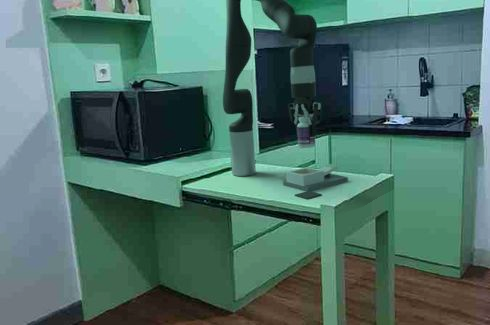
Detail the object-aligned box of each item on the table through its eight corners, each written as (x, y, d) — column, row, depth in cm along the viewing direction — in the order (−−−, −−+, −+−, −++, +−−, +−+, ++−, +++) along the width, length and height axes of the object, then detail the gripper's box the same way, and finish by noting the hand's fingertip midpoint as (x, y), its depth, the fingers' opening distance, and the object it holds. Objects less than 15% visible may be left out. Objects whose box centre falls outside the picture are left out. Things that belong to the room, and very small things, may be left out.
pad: (294, 195, 141) (294, 194, 141) (309, 191, 145) (309, 190, 144) (307, 199, 136) (307, 198, 136) (321, 195, 140) (321, 194, 139)
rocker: (313, 175, 157) (313, 171, 157) (330, 167, 161) (329, 163, 160) (321, 177, 154) (321, 173, 153) (338, 168, 157) (337, 164, 157)
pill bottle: (315, 147, 139) (313, 116, 137) (297, 148, 140) (295, 117, 138) (315, 145, 144) (314, 115, 142) (299, 146, 145) (297, 116, 143)
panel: (283, 185, 156) (282, 171, 155) (321, 175, 165) (321, 162, 164) (308, 191, 145) (307, 176, 144) (347, 181, 154) (347, 167, 153)
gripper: (279, 83, 142) (282, 136, 145) (309, 81, 130) (312, 139, 133) (297, 82, 146) (300, 133, 149) (328, 79, 134) (331, 135, 137)
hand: (306, 135), depth 141 cm, fingers closed on pill bottle, 5 cm apart
